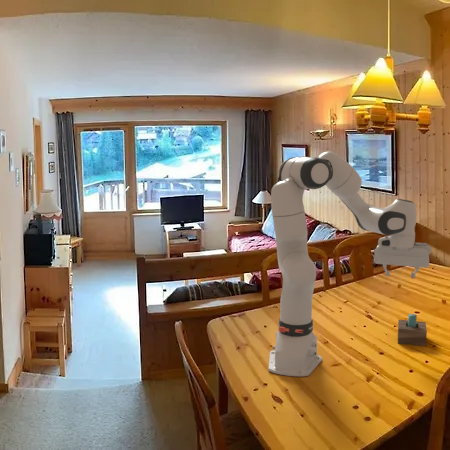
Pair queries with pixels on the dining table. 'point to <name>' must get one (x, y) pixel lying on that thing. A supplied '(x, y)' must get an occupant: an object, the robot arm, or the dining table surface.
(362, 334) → the dining table surface
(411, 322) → the teal peg
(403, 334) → the walnut hole block
